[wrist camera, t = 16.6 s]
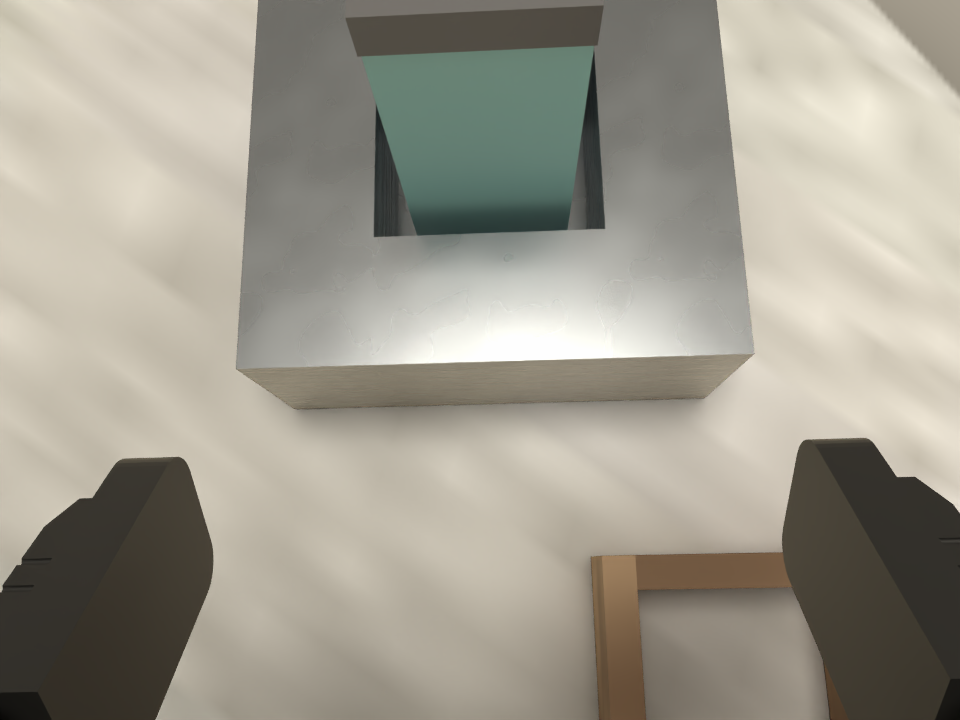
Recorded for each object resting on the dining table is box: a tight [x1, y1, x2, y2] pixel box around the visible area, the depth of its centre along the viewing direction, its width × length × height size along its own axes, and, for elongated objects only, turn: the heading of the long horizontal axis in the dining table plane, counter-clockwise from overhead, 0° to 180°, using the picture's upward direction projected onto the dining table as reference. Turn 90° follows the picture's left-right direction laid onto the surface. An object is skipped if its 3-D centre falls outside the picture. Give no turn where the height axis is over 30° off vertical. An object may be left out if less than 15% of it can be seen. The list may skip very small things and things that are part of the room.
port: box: [236, 0, 754, 409], centre depth 22 cm, size 12×12×5 cm
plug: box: [345, 0, 604, 236], centre depth 18 cm, size 4×4×11 cm
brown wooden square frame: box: [591, 552, 849, 720], centre depth 20 cm, size 7×7×3 cm
